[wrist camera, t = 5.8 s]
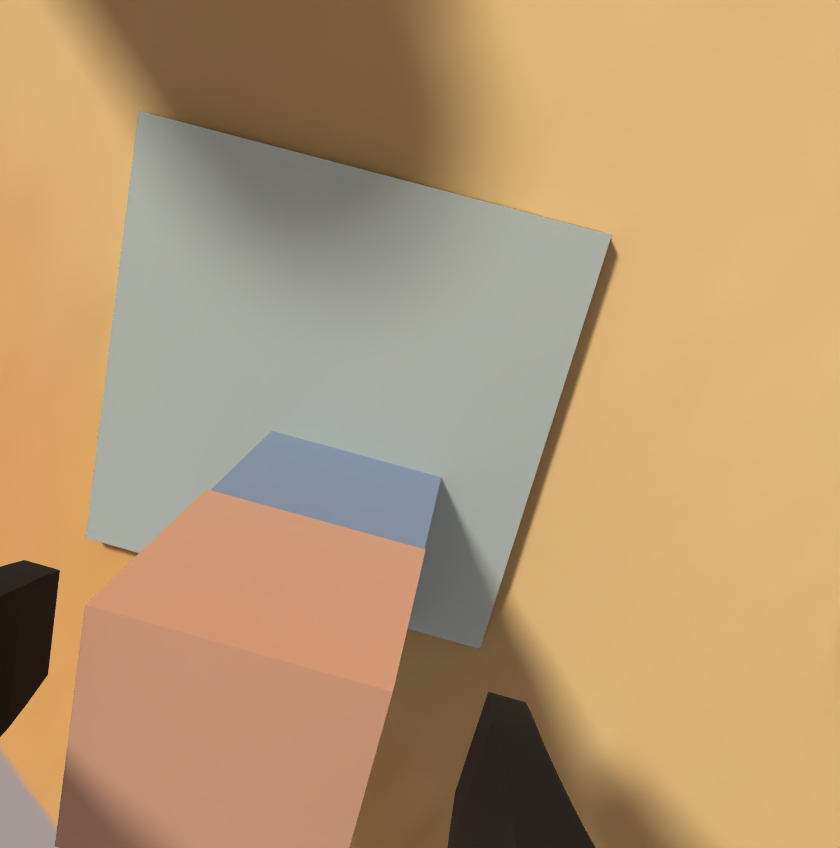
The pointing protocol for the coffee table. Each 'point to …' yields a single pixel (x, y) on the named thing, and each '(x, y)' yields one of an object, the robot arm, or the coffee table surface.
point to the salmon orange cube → (235, 683)
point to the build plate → (335, 343)
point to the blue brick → (336, 488)
